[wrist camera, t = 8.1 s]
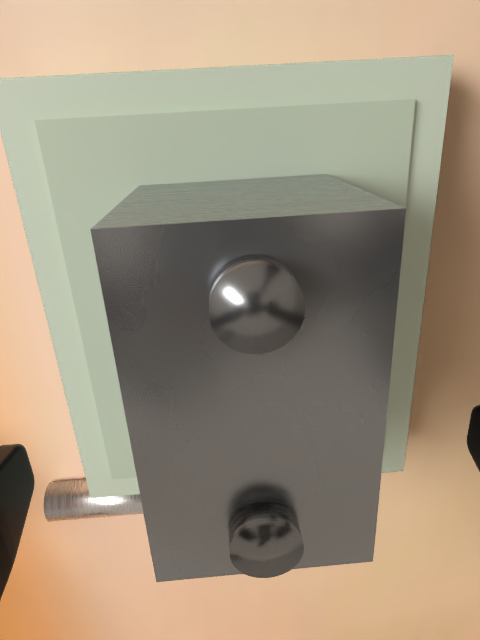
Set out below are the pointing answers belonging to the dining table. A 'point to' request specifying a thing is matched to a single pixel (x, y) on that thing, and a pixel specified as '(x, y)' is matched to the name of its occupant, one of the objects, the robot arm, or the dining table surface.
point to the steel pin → (85, 502)
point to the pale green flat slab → (211, 165)
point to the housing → (254, 366)
